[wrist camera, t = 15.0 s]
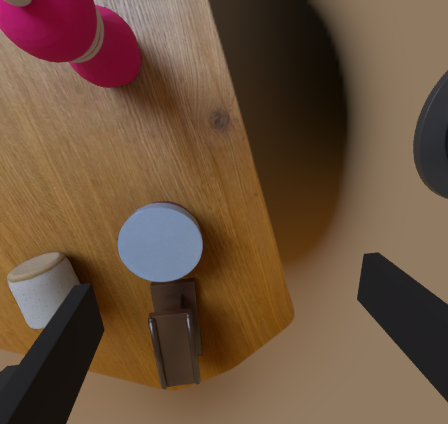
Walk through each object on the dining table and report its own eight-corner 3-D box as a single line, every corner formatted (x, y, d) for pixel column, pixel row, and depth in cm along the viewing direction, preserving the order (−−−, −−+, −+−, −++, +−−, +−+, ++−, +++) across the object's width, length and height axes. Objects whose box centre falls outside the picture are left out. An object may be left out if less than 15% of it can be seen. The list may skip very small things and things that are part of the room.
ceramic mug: (72, 243, 39) (44, 272, 32) (94, 288, 42) (73, 323, 35) (3, 260, 39) (-41, 293, 32) (29, 303, 42) (-5, 343, 35)
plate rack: (194, 277, 44) (194, 308, 37) (202, 350, 49) (203, 389, 42) (151, 282, 43) (142, 315, 36) (164, 355, 49) (159, 395, 42)
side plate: (198, 199, 35) (199, 204, 33) (205, 269, 39) (205, 277, 37) (114, 206, 34) (109, 211, 33) (129, 277, 38) (126, 286, 36)
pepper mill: (85, 88, 32) (-60, 53, 14) (79, 18, 30) (-110, -140, 11) (146, 93, 33) (86, 66, 15) (144, 25, 31) (69, -109, 12)
